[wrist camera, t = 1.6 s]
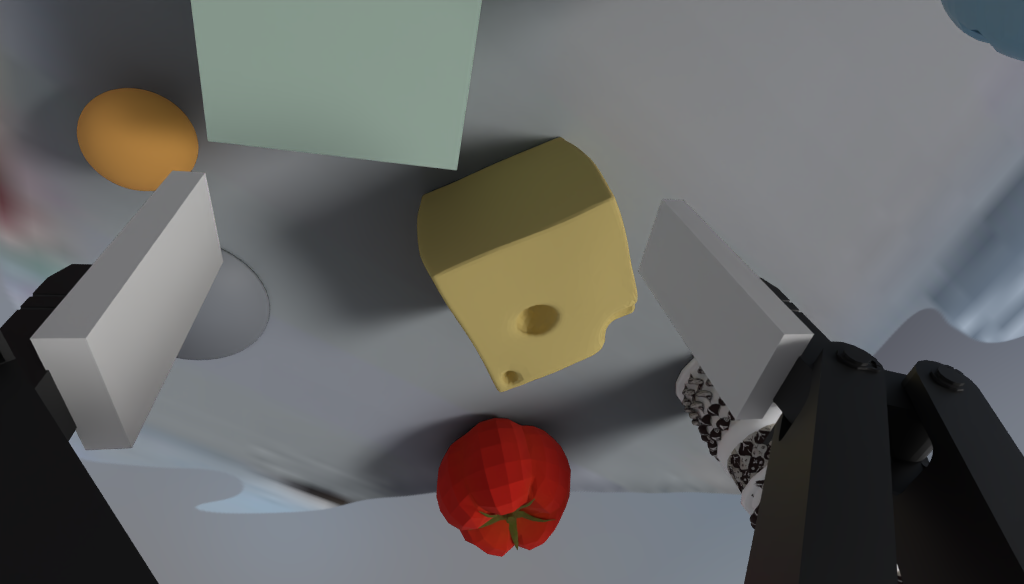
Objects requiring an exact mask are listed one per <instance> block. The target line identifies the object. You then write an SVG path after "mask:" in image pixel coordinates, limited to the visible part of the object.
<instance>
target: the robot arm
mask: <svg viewBox="0 0 1024 584" xmlns="http://www.w3.org/2000/svg"><path fill="white" fill-rule="evenodd" d="M941 2H942V5H943V7H944V9H945V11H946V12H947V14H948V16H949V17H950V19H951V20H952V21H953V22H954V23H955V24H956V26H957V27H958V28H960V29H961V30H962V31H963V32H964V33H966V34H968V35H969V36H971V37H973V38H974V39H976V40H979V41H982V42H986V43H990V44H991V46H993V47H994V49H995V50H996V51H997V52H999V53H1001V54H1003V55H1006V56H1009V57H1011V58H1014V59H1018V60H1021V61H1024V0H941ZM222 263H223V258H222V253H221V248H220V243H219V238H218V233H217V228H216V223H215V218H214V213H213V209H212V204H211V199H210V194H209V189H208V184H207V179H206V174H205V172H188V171H172V172H171V173H170V174H169V175H168V176H167V178H166V179H165V180H164V181H163V182H162V183H161V185H160V186H159V187H158V188H157V189H156V191H155V192H154V193H153V194H152V195H151V196H150V198H149V199H148V200H147V201H146V202H145V204H144V205H143V206H142V207H141V208H140V209H139V211H138V212H137V213H136V214H135V215H134V216H133V218H132V219H131V220H130V221H129V222H128V224H127V225H126V226H125V227H124V228H123V229H122V231H121V232H120V233H119V234H118V235H117V237H116V238H115V239H114V240H113V241H112V242H111V244H110V245H109V246H108V247H107V248H106V249H105V251H104V252H103V253H102V254H101V255H100V257H99V258H98V259H97V260H96V261H95V262H94V264H93V265H89V264H71V265H69V266H68V267H66V268H64V269H62V270H60V271H59V272H57V273H55V274H53V275H51V276H50V277H48V278H47V279H46V280H45V281H44V282H43V283H42V284H41V285H40V286H39V287H38V288H37V289H36V291H35V292H34V293H33V297H29V298H28V299H27V300H26V301H25V302H24V303H23V304H22V305H21V306H20V307H21V309H20V310H17V311H16V312H15V313H14V314H13V315H12V316H11V317H10V318H9V319H8V320H7V321H6V323H5V324H4V325H3V326H2V327H1V328H0V584H158V582H157V580H156V579H155V577H154V576H153V574H152V573H151V571H150V569H149V568H148V566H147V565H146V563H145V561H144V560H143V558H142V557H141V555H140V554H139V552H138V550H137V549H136V547H135V546H134V544H133V543H132V541H131V540H130V538H129V536H128V535H127V533H126V532H125V530H124V528H123V527H122V525H121V524H120V522H119V521H118V519H117V518H116V516H115V514H114V513H113V511H112V510H111V508H110V506H109V505H108V503H107V502H106V500H105V499H104V497H103V495H102V494H101V492H100V491H99V489H98V488H97V486H96V485H95V483H94V481H93V480H92V478H91V477H90V475H89V473H88V472H87V470H86V469H85V467H84V465H83V464H82V462H81V461H80V459H79V458H78V456H77V454H76V453H75V451H74V450H73V448H72V447H71V445H70V443H69V442H68V441H69V440H70V438H71V436H72V435H73V433H74V432H75V430H76V432H77V434H78V436H79V438H80V440H81V442H82V444H83V446H84V448H85V450H100V449H122V448H132V447H133V445H134V443H135V441H136V439H137V437H138V435H139V433H140V430H141V428H142V426H143V424H144V422H145V420H146V418H147V416H148V414H149V412H150V410H151V408H152V406H153V404H154V402H155V400H156V398H157V396H158V394H159V392H160V390H161V388H162V386H163V383H164V381H165V379H166V377H167V375H168V373H169V371H170V369H171V367H172V365H173V363H174V361H175V359H176V357H177V355H178V353H179V351H180V349H181V347H182V345H183V343H184V341H185V339H186V336H187V334H188V332H189V330H190V328H191V326H192V324H193V322H194V320H195V318H196V316H197V314H198V312H199V310H200V308H201V306H202V304H203V302H204V300H205V298H206V296H207V294H208V292H209V290H210V287H211V285H212V283H213V281H214V279H215V277H216V275H217V273H218V271H219V269H220V267H221V265H222ZM638 272H639V274H640V275H641V277H642V278H643V280H644V281H645V283H646V284H647V286H648V287H649V289H650V290H651V292H652V293H653V295H654V296H655V298H656V299H657V301H658V302H659V304H660V306H661V307H662V309H663V310H664V312H665V313H666V315H667V316H668V318H669V319H670V321H671V322H672V324H673V325H674V327H675V328H676V330H677V331H678V333H679V334H680V336H681V337H682V339H683V341H684V342H685V344H686V345H687V347H688V348H689V350H690V351H691V353H692V354H693V356H694V357H695V359H696V360H697V362H698V363H699V365H700V366H701V368H702V369H703V371H704V372H705V374H706V376H707V377H708V379H709V380H710V382H711V383H712V385H713V386H714V388H715V389H716V391H717V392H718V394H719V395H720V397H721V398H722V400H723V401H724V403H725V404H726V406H727V407H728V409H729V410H730V412H731V414H732V415H733V417H734V418H735V420H745V419H763V417H764V416H765V414H766V412H767V411H768V409H769V407H770V406H771V404H772V403H773V401H774V402H775V403H776V405H777V406H778V407H779V409H780V410H781V411H782V414H781V415H780V417H779V419H778V420H777V422H776V423H775V425H774V426H773V428H772V430H771V431H770V433H769V434H768V436H767V437H766V439H765V441H764V442H763V444H764V445H766V446H767V445H768V444H769V443H770V441H772V444H771V449H770V454H769V459H768V464H767V469H766V475H765V480H764V485H763V490H762V495H761V500H760V505H759V510H758V515H757V520H756V526H755V531H754V536H753V541H752V546H751V551H750V556H749V562H748V566H747V572H746V577H745V582H744V584H898V575H897V565H898V568H899V571H900V574H901V577H902V580H903V583H904V584H1024V456H1023V455H1022V453H1021V452H1020V450H1019V449H1018V447H1017V446H1016V444H1015V443H1014V441H1013V440H1012V438H1011V437H1010V435H1009V434H1008V432H1007V431H1006V429H1005V428H1004V426H1003V425H1002V423H1001V422H1000V420H999V419H998V417H997V415H996V414H995V412H994V411H993V409H992V408H991V406H990V405H989V403H988V402H987V400H986V399H985V397H984V396H983V394H982V393H981V391H980V390H979V388H978V387H977V386H976V385H975V384H974V383H973V382H972V381H971V380H970V379H969V378H967V377H966V376H964V375H963V373H962V372H960V371H958V370H957V369H954V368H953V367H951V366H949V365H943V364H941V363H938V362H934V361H928V360H924V361H918V362H917V364H916V365H915V366H914V367H913V368H912V370H911V371H910V372H909V373H908V375H905V374H900V373H896V372H891V371H887V370H884V369H883V367H882V365H881V364H880V363H879V362H878V361H877V360H876V358H874V357H873V356H871V355H870V354H869V353H867V352H866V351H864V350H862V349H860V348H858V347H856V346H854V345H850V344H847V343H844V342H831V341H830V340H829V339H828V338H827V337H826V336H825V335H824V334H823V333H822V332H821V331H820V330H819V329H818V328H817V327H816V326H815V325H814V324H813V323H812V322H811V321H810V320H809V319H808V318H807V317H806V316H805V315H804V314H803V313H802V312H799V309H798V308H797V307H796V306H795V305H794V304H793V303H790V302H789V301H790V300H789V299H788V298H787V297H786V296H785V295H784V294H783V293H782V292H781V291H780V290H779V289H778V288H776V287H775V286H773V285H772V284H770V283H769V282H767V281H765V280H764V279H762V278H759V277H758V276H757V275H756V274H755V273H754V272H753V271H752V270H751V269H750V268H749V267H748V266H747V265H746V264H745V263H744V262H743V261H742V260H741V259H740V257H739V256H738V255H737V254H736V253H735V252H734V251H733V250H732V249H731V248H730V247H729V246H728V245H727V244H726V243H725V242H724V241H723V240H722V239H721V238H720V237H719V236H718V235H717V234H716V233H715V232H714V231H713V230H712V229H711V228H710V227H709V226H708V225H707V223H706V222H705V221H704V220H703V219H702V218H701V217H700V216H699V215H698V214H697V213H696V212H695V211H694V210H693V209H692V208H691V207H690V206H689V205H688V204H687V203H686V202H685V201H684V200H673V199H662V201H661V204H660V207H659V210H658V213H657V216H656V219H655V222H654V225H653V228H652V231H651V234H650V237H649V240H648V243H647V246H646V249H645V252H644V255H643V258H642V261H641V264H640V267H639V270H638ZM932 450H933V455H932V459H931V461H930V463H929V461H928V458H927V456H928V455H929V453H930V452H931V451H932Z"/></svg>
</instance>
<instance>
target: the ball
mask: <svg viewBox="0 0 1024 584" xmlns="http://www.w3.org/2000/svg"><path fill="white" fill-rule="evenodd" d="M77 138H78V143H79V146H80V149H81V151H82V153H83V155H84V157H85V158H86V160H87V161H88V163H89V164H90V165H91V166H92V167H93V168H94V169H95V170H96V171H97V172H98V173H99V174H100V175H102V176H103V177H105V178H106V179H107V180H109V181H111V182H113V183H115V184H117V185H119V186H122V187H125V188H128V189H132V190H139V191H156V189H157V188H158V187H159V186H160V185H161V183H162V182H163V181H164V180H165V179H166V178H167V176H168V175H169V174H170V173H171V172H172V171H188V172H191V170H192V169H193V167H194V165H195V163H196V160H197V156H198V140H197V135H196V132H195V129H194V127H193V125H192V123H191V122H190V120H189V119H188V117H187V116H186V115H185V114H184V112H183V111H182V110H181V109H180V108H178V107H177V106H176V105H175V104H174V103H172V102H171V101H169V100H168V99H166V98H164V97H162V96H161V95H158V94H156V93H153V92H150V91H147V90H142V89H136V88H120V89H114V90H110V91H107V92H104V93H102V94H100V95H98V96H96V97H95V98H94V99H92V100H91V101H90V102H89V103H88V104H87V105H86V106H85V108H84V109H83V111H82V113H81V115H80V117H79V120H78V125H77Z"/></svg>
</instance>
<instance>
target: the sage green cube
mask: <svg viewBox="0 0 1024 584" xmlns="http://www.w3.org/2000/svg"><path fill="white" fill-rule="evenodd" d="M481 4H482V0H191V7H192V15H193V23H194V31H195V40H196V48H197V56H198V64H199V72H200V80H201V89H202V97H203V105H204V113H205V121H206V130H207V138H208V141H212V142H220V143H229V144H237V145H246V146H254V147H263V148H271V149H280V150H288V151H297V152H305V153H314V154H322V155H331V156H339V157H348V158H356V159H365V160H373V161H382V162H390V163H399V164H407V165H416V166H424V167H433V168H441V169H450V170H457V166H458V159H459V153H460V146H461V139H462V132H463V126H464V119H465V112H466V105H467V99H468V92H469V85H470V78H471V72H472V65H473V58H474V51H475V44H476V38H477V31H478V24H479V17H480V11H481Z"/></svg>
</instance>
